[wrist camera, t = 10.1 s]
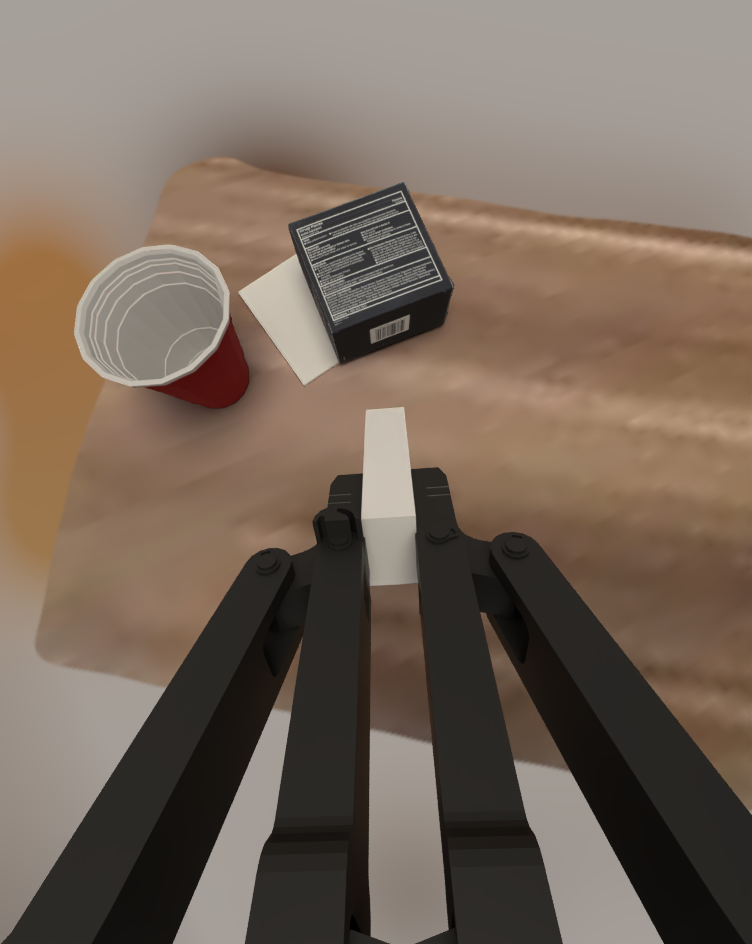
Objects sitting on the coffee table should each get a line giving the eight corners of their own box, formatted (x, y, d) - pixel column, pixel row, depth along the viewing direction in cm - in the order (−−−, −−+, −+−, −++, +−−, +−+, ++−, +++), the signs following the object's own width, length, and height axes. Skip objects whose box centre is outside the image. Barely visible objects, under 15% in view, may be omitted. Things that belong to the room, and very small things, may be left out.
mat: (419, 308, 42) (420, 306, 41) (304, 386, 41) (303, 385, 41) (350, 220, 44) (350, 218, 43) (239, 293, 43) (237, 291, 42)
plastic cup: (263, 310, 42) (211, 218, 31) (288, 415, 41) (243, 362, 29) (152, 339, 42) (58, 259, 31) (172, 446, 41) (80, 405, 29)
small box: (445, 326, 41) (404, 231, 43) (457, 286, 35) (407, 176, 36) (338, 366, 41) (300, 268, 42) (329, 333, 34) (285, 219, 36)
